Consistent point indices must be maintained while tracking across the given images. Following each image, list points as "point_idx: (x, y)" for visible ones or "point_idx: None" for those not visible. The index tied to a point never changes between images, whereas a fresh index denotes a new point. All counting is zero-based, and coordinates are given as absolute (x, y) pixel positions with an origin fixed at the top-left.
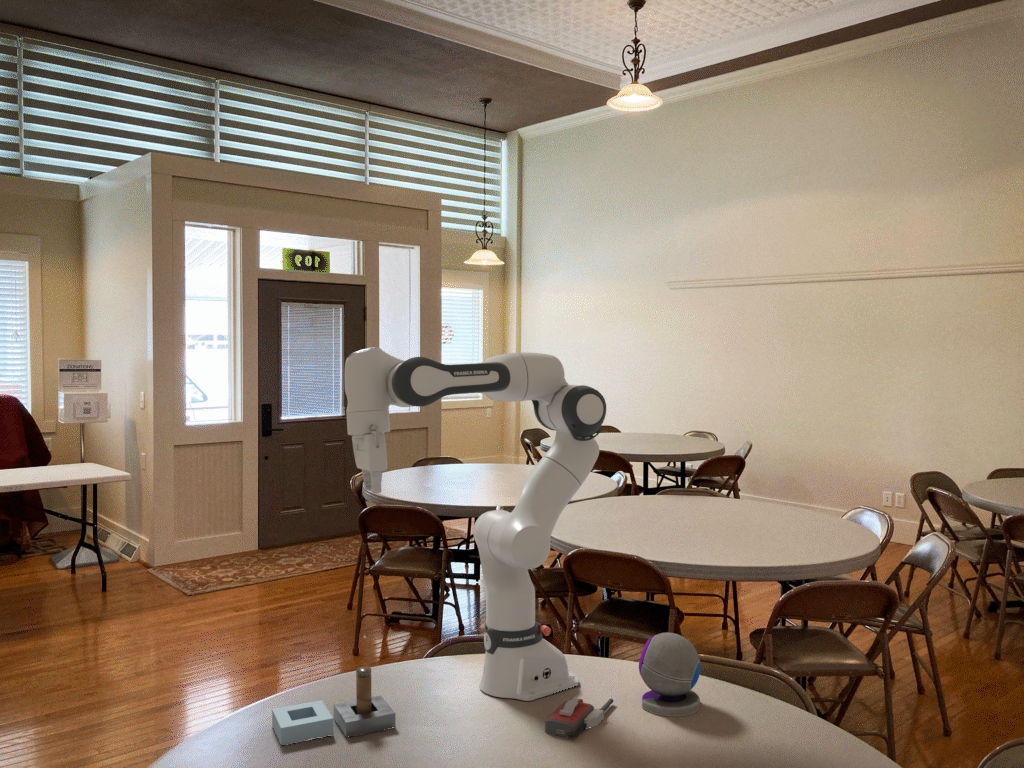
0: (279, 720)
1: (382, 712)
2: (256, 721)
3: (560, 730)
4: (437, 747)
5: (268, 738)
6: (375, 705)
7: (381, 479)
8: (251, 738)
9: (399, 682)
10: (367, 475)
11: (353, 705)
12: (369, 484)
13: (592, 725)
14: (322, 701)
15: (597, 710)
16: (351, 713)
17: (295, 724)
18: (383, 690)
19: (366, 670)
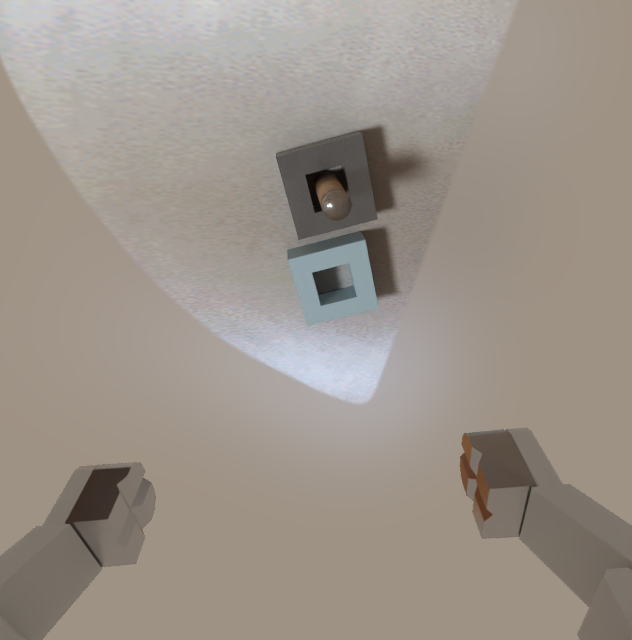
0: (351, 312)
1: (353, 157)
2: (284, 334)
3: None
4: (453, 59)
5: None
6: (320, 168)
7: (625, 524)
8: (338, 333)
9: (142, 107)
10: (21, 616)
11: (311, 207)
12: (124, 521)
13: None
14: (294, 258)
15: None
16: None
17: (371, 291)
18: (184, 144)
19: (344, 201)
